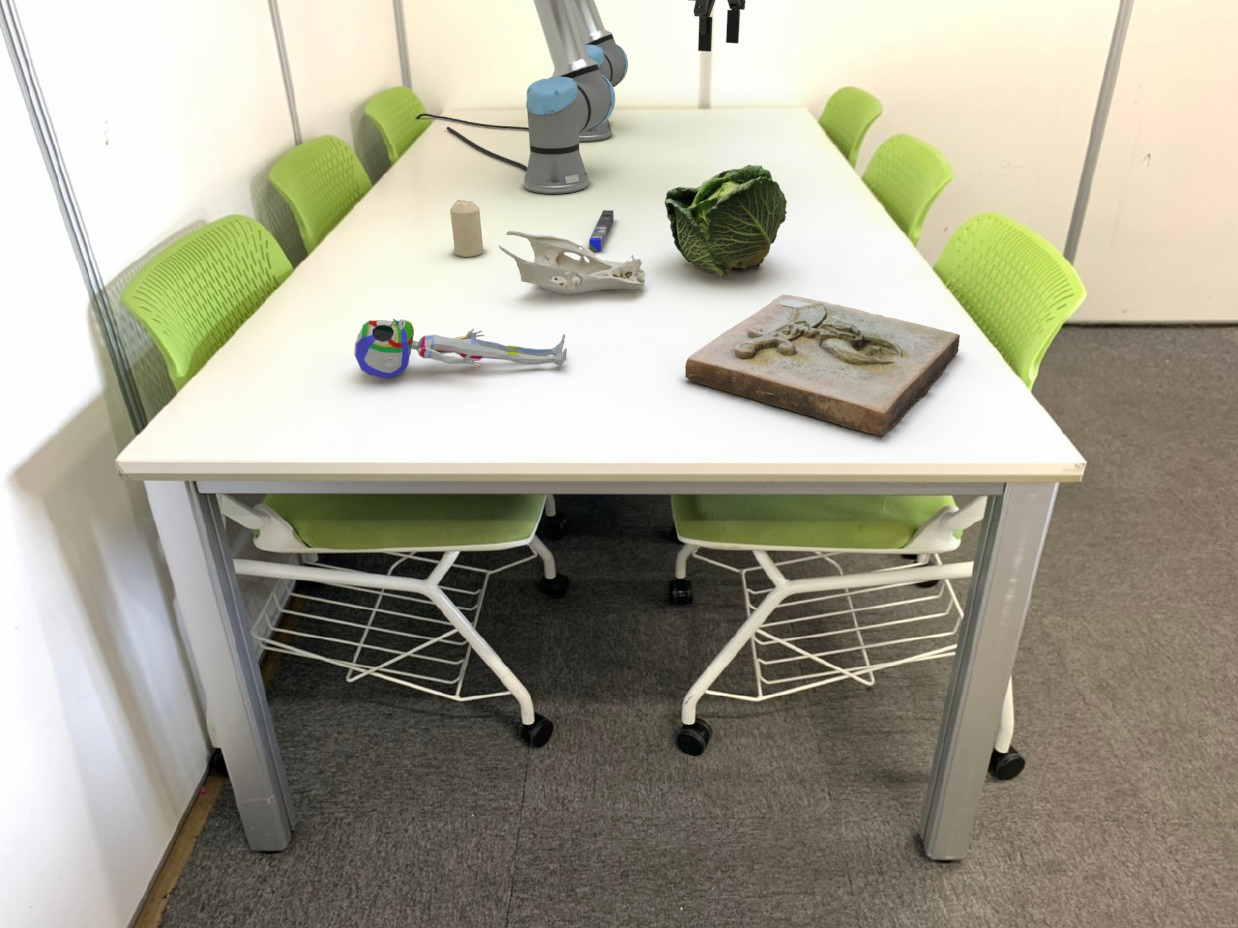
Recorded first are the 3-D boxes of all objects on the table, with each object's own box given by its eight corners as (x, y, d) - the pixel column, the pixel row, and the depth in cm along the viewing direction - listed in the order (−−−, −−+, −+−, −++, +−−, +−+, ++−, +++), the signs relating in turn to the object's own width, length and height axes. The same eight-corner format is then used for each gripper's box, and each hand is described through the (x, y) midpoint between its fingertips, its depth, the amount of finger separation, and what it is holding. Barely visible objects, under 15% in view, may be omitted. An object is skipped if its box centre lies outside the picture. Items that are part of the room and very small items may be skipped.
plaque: (892, 390, 109) (684, 332, 124) (883, 441, 113) (682, 379, 127) (971, 312, 130) (784, 271, 145) (961, 357, 134) (780, 312, 148)
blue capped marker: (613, 210, 190) (600, 241, 173) (613, 220, 191) (600, 251, 174) (603, 210, 190) (589, 240, 173) (603, 220, 191) (589, 251, 174)
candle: (488, 249, 176) (483, 198, 171) (475, 258, 172) (470, 206, 167) (463, 246, 178) (457, 196, 173) (450, 255, 174) (443, 204, 168)
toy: (569, 347, 126) (349, 329, 122) (563, 400, 131) (350, 385, 126) (565, 318, 135) (359, 301, 130) (559, 369, 139) (360, 354, 134)
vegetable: (694, 294, 173) (643, 202, 166) (775, 239, 175) (728, 145, 167) (734, 307, 155) (678, 205, 147) (824, 245, 156) (773, 141, 149)
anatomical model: (512, 224, 162) (649, 224, 158) (517, 273, 167) (650, 274, 163) (490, 252, 149) (637, 253, 146) (496, 304, 154) (639, 306, 151)
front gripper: (713, -65, 172) (708, 56, 183) (765, -69, 190) (758, 40, 201) (678, -65, 175) (676, 53, 187) (732, -69, 193) (727, 39, 204)
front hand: (718, 47), depth 194 cm, fingers open, 13 cm apart
